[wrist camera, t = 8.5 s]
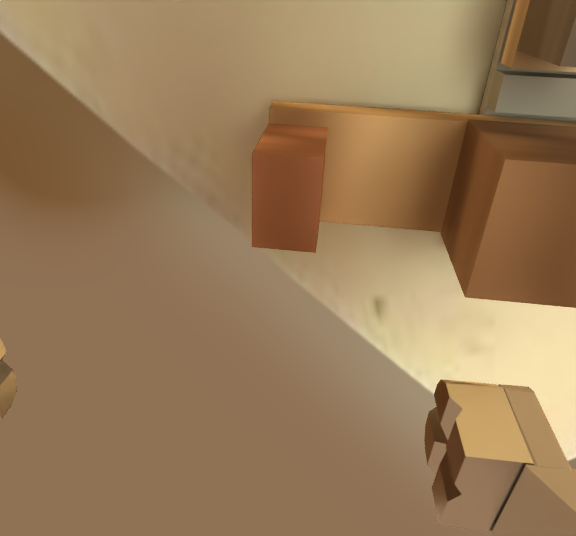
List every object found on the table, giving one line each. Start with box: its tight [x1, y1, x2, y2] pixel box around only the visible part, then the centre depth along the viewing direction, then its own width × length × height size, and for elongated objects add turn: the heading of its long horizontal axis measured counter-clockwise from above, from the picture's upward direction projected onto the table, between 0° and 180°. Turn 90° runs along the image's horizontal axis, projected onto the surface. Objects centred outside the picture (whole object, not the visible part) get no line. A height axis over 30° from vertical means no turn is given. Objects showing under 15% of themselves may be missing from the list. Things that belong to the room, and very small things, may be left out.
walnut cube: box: [441, 119, 576, 308], centre depth 17 cm, size 5×5×5 cm
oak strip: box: [252, 101, 576, 253], centre depth 18 cm, size 13×5×5 cm, turn 87°
